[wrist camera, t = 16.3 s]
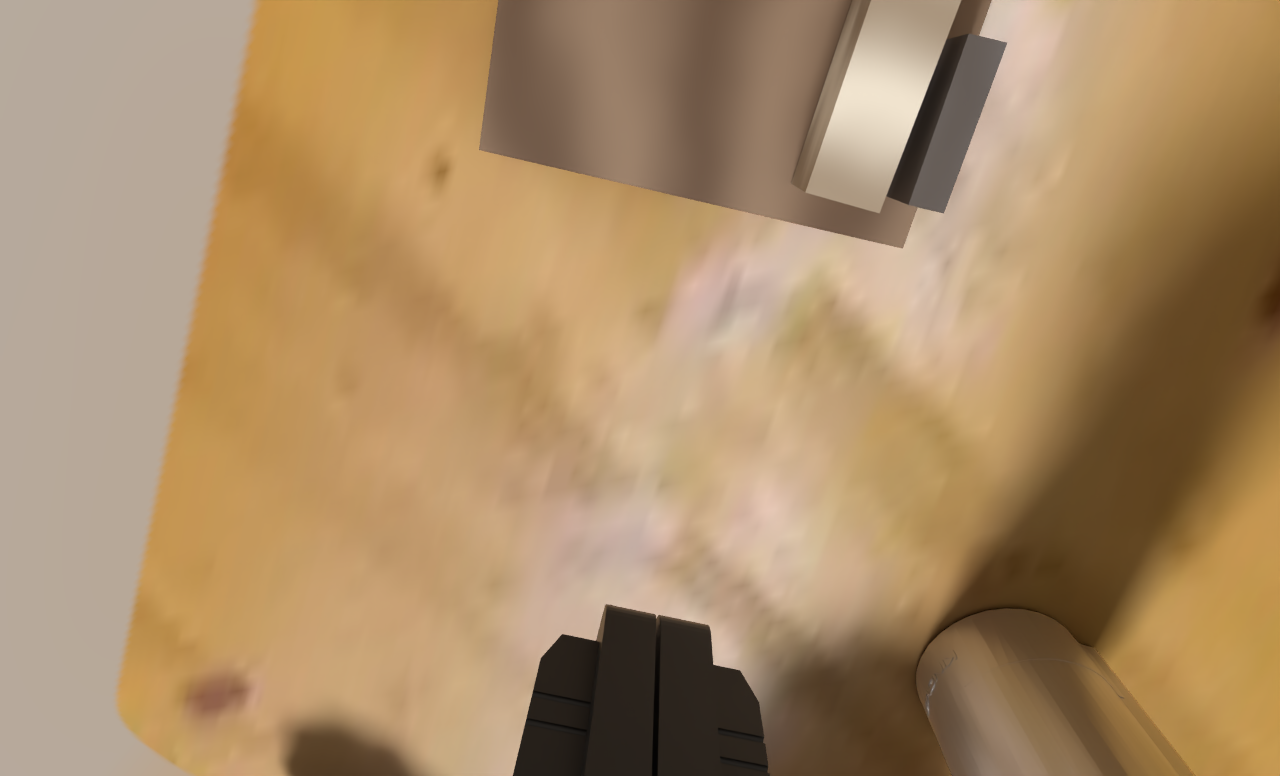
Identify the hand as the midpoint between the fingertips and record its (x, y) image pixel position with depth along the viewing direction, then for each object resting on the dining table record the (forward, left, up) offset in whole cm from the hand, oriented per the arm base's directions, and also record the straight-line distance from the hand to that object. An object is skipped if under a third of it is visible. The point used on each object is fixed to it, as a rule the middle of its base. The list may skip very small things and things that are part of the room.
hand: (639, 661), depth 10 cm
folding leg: (-6, -13, -24) cm, 28 cm away
